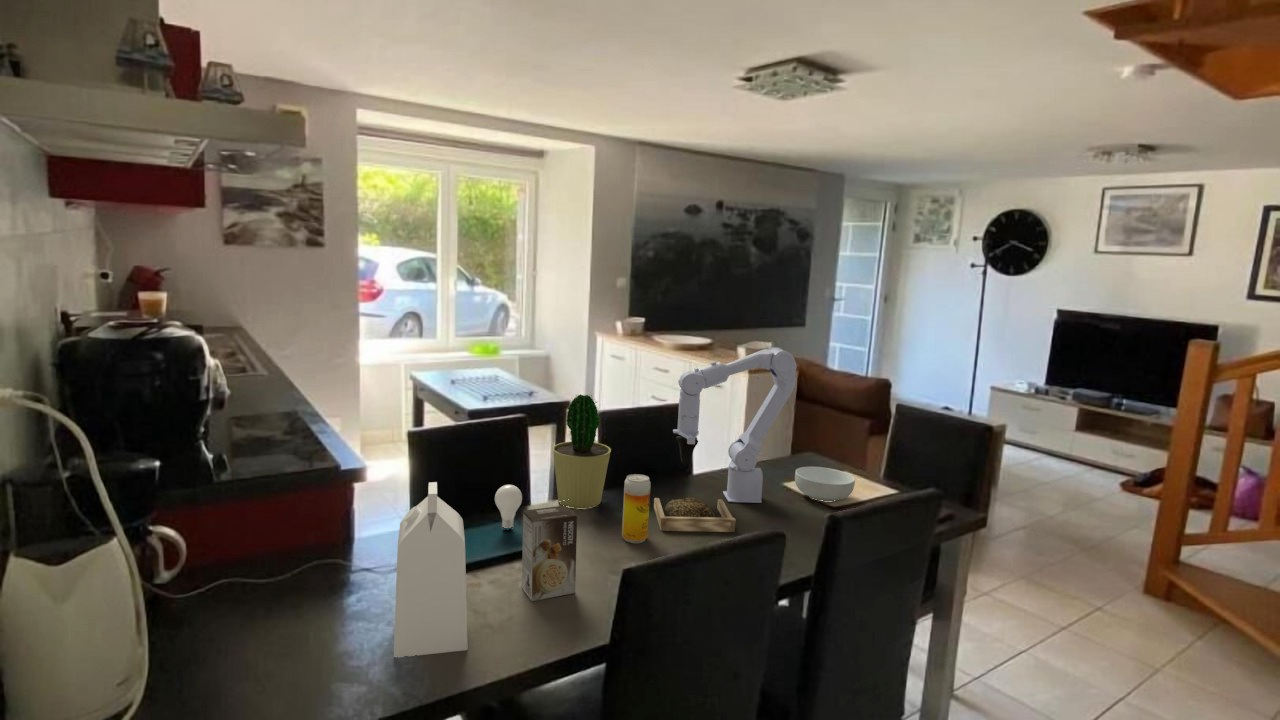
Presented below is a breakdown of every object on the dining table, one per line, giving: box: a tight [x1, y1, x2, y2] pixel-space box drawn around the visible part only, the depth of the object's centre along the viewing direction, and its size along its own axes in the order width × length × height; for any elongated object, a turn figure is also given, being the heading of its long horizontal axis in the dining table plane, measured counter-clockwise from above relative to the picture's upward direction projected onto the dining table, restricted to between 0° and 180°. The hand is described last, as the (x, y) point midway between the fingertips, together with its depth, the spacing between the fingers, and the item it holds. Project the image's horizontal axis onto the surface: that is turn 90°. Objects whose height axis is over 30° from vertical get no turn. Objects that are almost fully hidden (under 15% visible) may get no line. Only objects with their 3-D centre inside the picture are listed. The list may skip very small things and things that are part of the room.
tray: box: [653, 497, 737, 533], centre depth 177 cm, size 18×16×3 cm
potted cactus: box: [552, 394, 612, 508], centre depth 183 cm, size 15×15×30 cm
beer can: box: [621, 473, 652, 544], centre depth 161 cm, size 6×6×15 cm
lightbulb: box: [494, 484, 523, 528], centre depth 163 cm, size 6×6×11 cm
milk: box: [393, 481, 469, 659], centre depth 116 cm, size 12×12×26 cm
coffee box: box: [521, 505, 578, 602], centre depth 134 cm, size 9×6×16 cm
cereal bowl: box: [794, 466, 856, 501], centre depth 198 cm, size 17×17×7 cm
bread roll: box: [664, 497, 715, 517], centre depth 179 cm, size 13×12×5 cm
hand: (685, 462), depth 192 cm, fingers closed
